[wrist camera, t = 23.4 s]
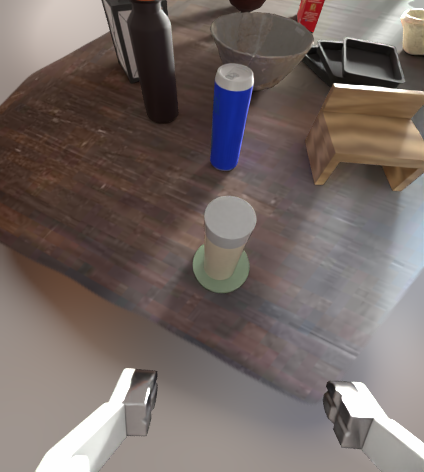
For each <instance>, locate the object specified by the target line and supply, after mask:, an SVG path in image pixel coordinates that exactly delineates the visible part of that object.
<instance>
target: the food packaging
mask: <svg viewBox="0 0 424 472" xmlns="http://www.w3.org/2000/svg"><path fill="white" fill-rule="evenodd" d="M324 1H325V0H301V3H300V7H299V10H298V13H297V18H298V23H300V24H302V25H303V26H304V27H306V29H307V30H309V31H310V32H314V30H315V27H316V24H317V21H318V18H319V15H320V13H321V10H322V7H323V4H324Z"/></svg>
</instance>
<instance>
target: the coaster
mask: <svg viewBox="0 0 424 472" xmlns="http://www.w3.org/2000/svg"><path fill="white" fill-rule="evenodd" d="M203 258H204V244H203V245H202V246H201V247H200V248H199V249H198V250H197V252H196V253H195V256H194V259H193V272H194V275H195V277H196V279H197V281H198V282H199V283H200V284H201V285H202V286H203V287H204V288H205V289H207V290H209V291H211V292H214V293H229V292H232V291H235V290H236V289H238V288H239V287H241V286H242V285H243V283H244V282H245V280H246V279H247V277H248V274H249V260H248V257H247V255H246V253H245V252H244V250H243V253H242V255H241V258H240V260H239V262H238V265H237V267H236V270H235V272H234V273H233V275H232V276H231V277H229V278H228V279H225V280H215V279H213V278H211V277H210V276H208V275H207V273H206V272H205V270H204V267H203Z"/></svg>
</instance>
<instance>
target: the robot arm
mask: <svg viewBox="0 0 424 472" xmlns="http://www.w3.org/2000/svg"><path fill="white" fill-rule="evenodd" d="M156 380H157V371H153V370H141V369H128V368H125V369H124V370H123V372H122V374H121V376H120V378H119V380H118V383H117V385H116V387H115V389H114V391H113V393H112V395H111V398H110V400H109V402H108V403H104V404H103V405H101V406H100V407H99V408H98V409H97V410H96V411H94V412H93V413H92V414H91V415H90V416H89V417H87V418H86V419H85V420H84V421H83V422H82V423H80V424H79V425H78V426H77V427H76V428H75V429H73V430H72V431H71V432H70V433H69V434H67V435H66V436H65V437H64V438H63V439H62V440H61V441H59V442H58V443H57V444H56V445H55V446H53V448H51V449H50V450H49V451H48V452H47V453H46V454H45V456H44V458H43V459H42V461H41V463H40V464H39V466H38V468H37V469H36V471H35V472H99V471H100V469H101V468H102V467H103V466H104V464H105V463H106V462H107V461H108V459H109V458H110V457H111V456H112V454H113V453H114V452H115V451H116V450H117V448H118V447H119V446H120V445H121V443H122V442H123V441H124V440H125V438H126V436H147V433H148V429H149V425H150V421H151V411H152V410H153V409H154V406H155V402H156V396H157V383H156ZM326 387H327V389H328V391H327V392H326V393H325V394H324V397H323V405H324V409H325V413H326V415H327V417H328V419H329V420H330V421H331V422H332V423H333V424H334V428H333V430H334V432H335V434H336V437H337V439H338V441H339V443H340V445H341V447H342V448H353V449H362V451H363V452H364V454H365V455H366V456H367V457H368V458H369V459H370V460H371V461H372V462H373V463H374V465H376V467H377V468H378V469H379V470H380V471H381V472H424V443H422V442H421V441H420V440H419V439H417V438H416V437H415V436H413V435H412V434H411V433H410V432H408V431H407V430H406V429H404V428H403V427H402V426H400V425H399V424H398V423H397V422H395V421H394V420H392V419H389V418H388V417H387V416H386V414H385V413H384V411H383V410H382V408H381V407H380V406H379V404H378V403H377V401H376V400H375V399H374V397H373V396H372V395H371V393H370V392H369V390H368V389H367V388H366V386H365V385H364V384H363V383H362V382H361V383H360V382H347V381H328V382H327V385H326Z"/></svg>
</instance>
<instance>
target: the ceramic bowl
mask: <svg viewBox="0 0 424 472" xmlns="http://www.w3.org/2000/svg"><path fill="white" fill-rule="evenodd" d="M210 30H211V33H212V36H213V39H214V41H215V44H216V46H217V48H218V51H219V54H220V57H221V60H222V63H223V65H224V64H229V63H235V64H241V65H244V66H246V67H248V68H250V69H251V70H252V72H253V80H254V84H253V89H252V91H260V90H264V89H269V88H272V87H274V86H275V85H277V84H278V83H279V82H280V81H281V80H282V79H284V78H285V77H286V76H287V75H288V74H289V73H290V72H291V71H292V70H293V69H294V68H295V67H296V66H297V65H298V63H299V62H300V61H301V60H302V59H303V58H304V56H305V55H306V54H307V53H308V51H309V50H310V49H311V47H312V46H313V43H314V38H313V35H312V34H311V32H310V31H309V30H307V29H306V27H304V26H303V25H302V24H300V23H298V22H296V21H294V20H292V19H289V18H286V17H282V16H279V15H276V14H270V13H262V12H254V13H250V12H245V13H243V14H242V13H233V14H228V15H223V16H220V17H219V18H217V19H216V20H214V21H213V22H212V24H211V27H210Z"/></svg>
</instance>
